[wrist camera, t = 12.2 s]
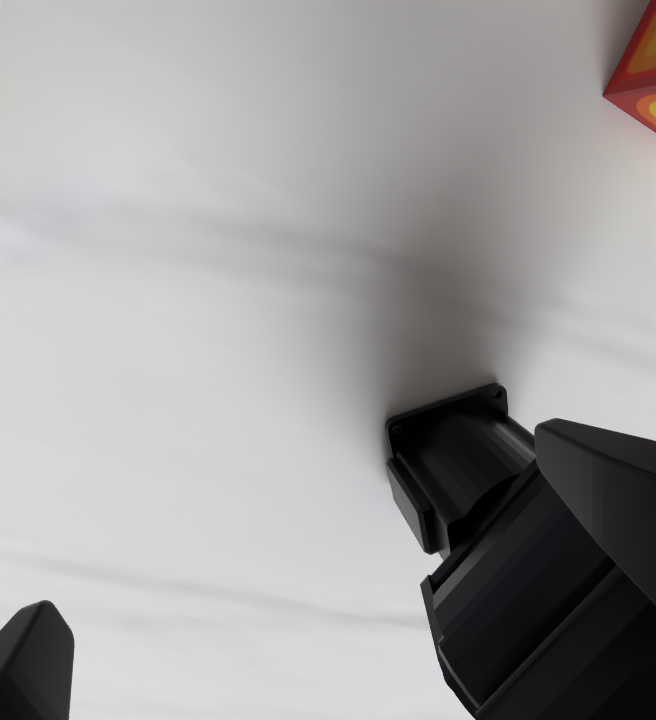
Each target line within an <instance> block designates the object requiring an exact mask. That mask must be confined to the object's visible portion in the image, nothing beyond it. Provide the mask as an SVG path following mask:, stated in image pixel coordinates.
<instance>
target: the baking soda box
mask: <svg viewBox="0 0 656 720" xmlns="http://www.w3.org/2000/svg"><path fill="white" fill-rule="evenodd" d="M603 97H604V98H606V99H607V100H609V101H610V102H612V103H613V104H614V105H616V106H617V107H619V108H620V109H622V110H623V111H625V112H626V113H628V114H629V115H631V116H632V117H633V118H635V119H636V120H638V121H639V122H641V123H642V124H644V125H645V126H647V127H648V128H649V129H651V130H652V131H654V132H655V133H656V0H651V1H650V3H649V5H648V7H647V9H646V11H645V13H644V15H643V17H642V19H641V21H640V23H639V25H638V27H637V29H636V31H635V33H634V34H633V36H632V38H631V40H630V42H629V44H628V46H627V48H626V50H625V52H624V54H623V56H622V58H621V60H620V62H619V64H618V66H617V68H616V70H615V72H614V74H613V76H612V78H611V80H610V82H609V84H608V86H607V88H606V90H605V92H604V94H603Z"/></svg>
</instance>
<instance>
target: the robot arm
mask: <svg viewBox="0 0 656 720" xmlns="http://www.w3.org/2000/svg"><path fill="white" fill-rule="evenodd" d="M496 391H498V392H497V394H496V395H495V396H493V394H494V393H495V392H496ZM396 425H399V427H398V428H397V429H396V430H393V427H394V426H396ZM385 430H386V435H387V440H388V444H389V449H390V454H391V458H389V459H388V461H387V463H386V466H387V470H388V475H389V479H390V484H391V489H392V493H393V498H394V501H395V503H396V504H397V506H398V508H399V509H400V511H401V513H402V515H403V516H404V518H405V520H406V521H407V523H408V525H409V527H410V528H411V530H412V532H413V533H414V535H415V537H416V539H417V540H418V542H419V544H420V545H421V547H422V549H423V551H424V552H425V553H427V554H429V555H431V554H434V553H437V552H438V553H439V554H440V556H441V558H442V559H443V563H442V564H441V565H440V566H439V567H438V568H437V569H436V570H435V572H434V573H433V574H432V575H428V576H427V577H426V578H425V579H424V580H423V581H422V583H421V584H420V586H421V591H422V595H423V599H424V603H425V607H426V612H427V616H428V620H429V624H430V628H431V633H432V637H433V641H434V645H435V649H436V654H437V658H438V661H439V664H440V667H441V669H442V672H443V676H444V679H445V682H446V683H447V685H448V686H449V687H450V688H451V689H452V690H453V692H454V693H455V695H456V696H457V697H458V699H459V700H460V702H461V703H462V704H463V706H464V707H465V708H466V709H467V711H468V712H469V713H470V714H471V715H472V716H473V717H474V718H475V720H656V441H654V440H650V439H645V438H641V437H637V436H632V435H628V434H624V433H620V432H615V431H611V430H607V429H602V428H598V427H594V426H589V425H585V424H581V423H577V422H572V421H568V420H564V419H559V418H554V419H550V420H548V421H545V422H542V423H539V424H538V425H537V426H536V427H535V432H534V434H535V436H534V435H533V434H531V433H530V432H529V431H528V430H526V429H525V428H524V427H523V426H521V425H520V424H519V423H518V422H516V421H515V420H514V419H512V418H511V417H510V416H509V415H508V404H507V392H506V389H505V388H504V387H503V386H502V385H500V384H498V383H492V384H489V385H486V386H483V387H480V388H477V389H474V390H471V391H468V392H465V393H462V394H460V395H457V396H454V397H451V398H448V399H445V400H442V401H439V402H436V403H433V404H430V405H427V406H424V407H421V408H418V409H415V410H412V411H409V412H406V413H403V414H400V415H397V416H394V417H392V418H390V419H389V420H388V421H387V422H386V425H385ZM73 659H74V637H73V633H72V631H71V629H70V628H69V626H68V625H67V623H66V622H65V620H64V619H63V617H62V616H61V614H60V613H59V611H58V610H57V608H56V607H55V605H54V604H53V603H52V602H50V601H48V600H43V601H40V602H37V603H34V604H31V605H29V606H26V607H24V608H22V609H20V610H19V611H18V612H17V613H16V614H15V615H14V616H13V617H12V618H11V619H10V620H9V621H8V623H7V624H6V625H5V626H4V627H3V628H2V629H1V630H0V720H69V711H70V698H71V685H72V672H73Z"/></svg>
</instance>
